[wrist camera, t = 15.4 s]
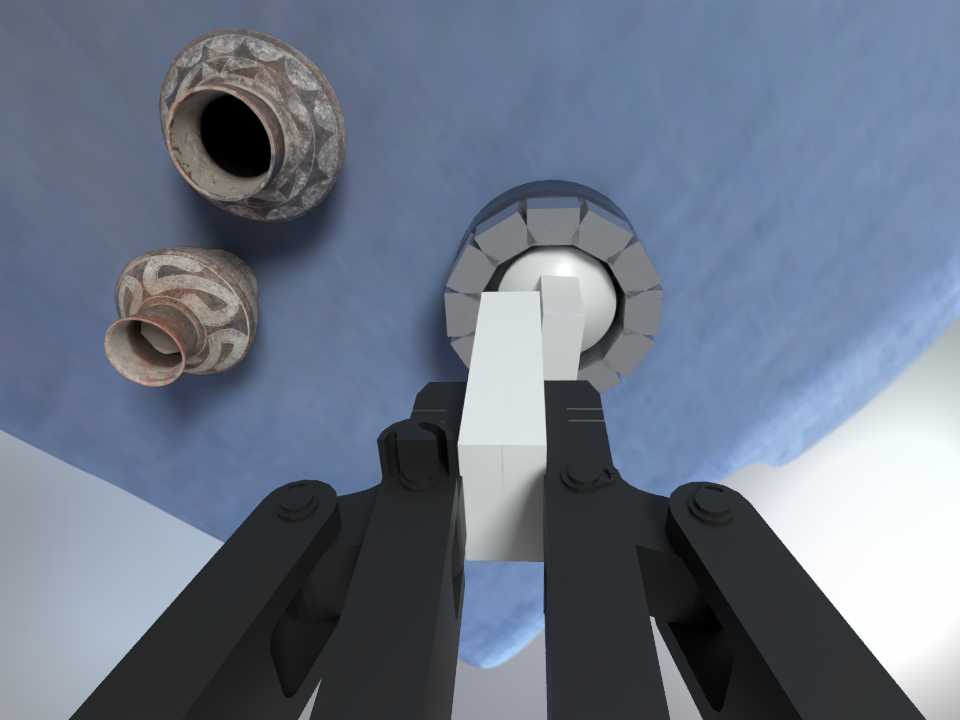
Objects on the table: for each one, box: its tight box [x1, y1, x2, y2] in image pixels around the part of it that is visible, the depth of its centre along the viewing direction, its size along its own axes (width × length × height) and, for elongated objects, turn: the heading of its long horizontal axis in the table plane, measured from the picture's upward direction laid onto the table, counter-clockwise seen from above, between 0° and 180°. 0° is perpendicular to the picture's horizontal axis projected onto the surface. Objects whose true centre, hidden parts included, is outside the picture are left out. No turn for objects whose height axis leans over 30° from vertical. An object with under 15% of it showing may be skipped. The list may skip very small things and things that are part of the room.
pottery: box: [104, 29, 347, 387], centre depth 42 cm, size 11×25×12 cm, turn 151°
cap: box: [498, 245, 616, 380], centre depth 40 cm, size 8×8×8 cm
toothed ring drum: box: [444, 180, 663, 393], centre depth 45 cm, size 14×14×8 cm
